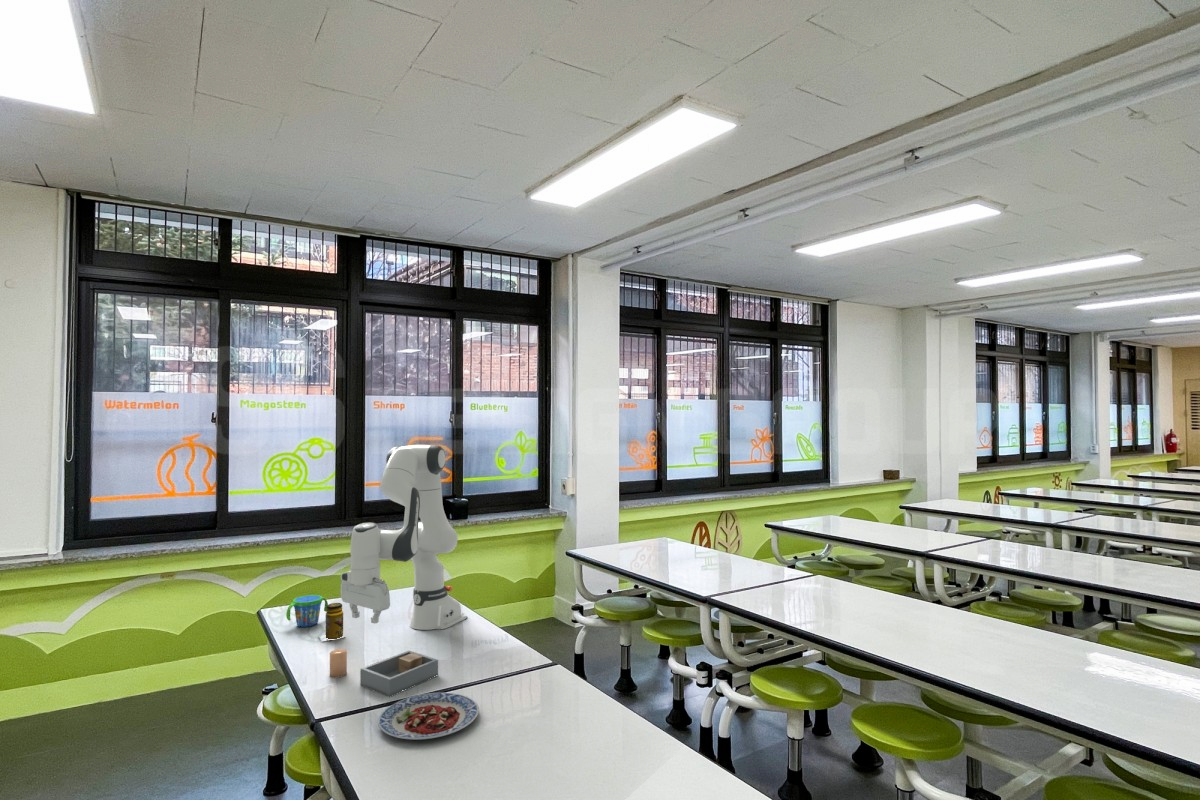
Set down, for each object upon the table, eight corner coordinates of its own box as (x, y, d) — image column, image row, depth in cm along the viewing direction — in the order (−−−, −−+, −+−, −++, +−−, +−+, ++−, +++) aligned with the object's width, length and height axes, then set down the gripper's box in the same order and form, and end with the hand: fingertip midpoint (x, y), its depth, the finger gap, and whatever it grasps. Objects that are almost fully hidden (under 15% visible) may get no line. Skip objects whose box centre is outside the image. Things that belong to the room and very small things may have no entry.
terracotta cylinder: (340, 669, 206) (340, 647, 206) (350, 673, 203) (350, 651, 203) (326, 675, 202) (326, 652, 202) (335, 679, 199) (335, 656, 199)
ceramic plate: (496, 708, 179) (496, 697, 179) (443, 755, 155) (443, 742, 155) (418, 694, 188) (418, 684, 188) (356, 736, 164) (356, 725, 164)
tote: (409, 665, 209) (409, 650, 209) (438, 675, 201) (438, 659, 201) (360, 685, 194) (360, 668, 194) (389, 696, 186) (389, 679, 186)
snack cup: (322, 617, 259) (322, 591, 259) (333, 623, 252) (333, 596, 252) (281, 626, 248) (281, 599, 248) (291, 632, 241) (291, 605, 241)
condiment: (346, 638, 235) (346, 605, 235) (321, 643, 230) (321, 609, 230) (341, 632, 241) (341, 600, 241) (317, 637, 236) (317, 604, 236)
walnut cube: (411, 669, 204) (411, 653, 204) (422, 672, 201) (422, 656, 201) (398, 674, 200) (398, 658, 200) (408, 678, 197) (408, 661, 197)
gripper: (395, 578, 199) (395, 623, 199) (354, 569, 210) (354, 612, 210) (378, 582, 194) (377, 629, 193) (337, 573, 205) (336, 617, 205)
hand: (365, 620), depth 202 cm, fingers open, 8 cm apart
